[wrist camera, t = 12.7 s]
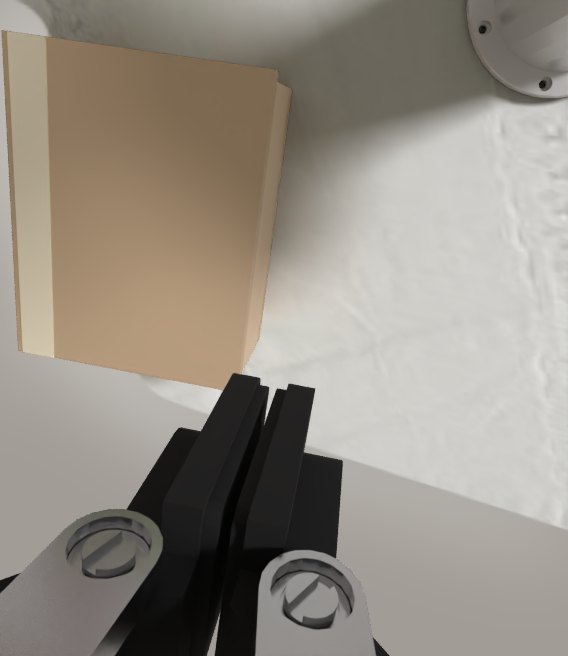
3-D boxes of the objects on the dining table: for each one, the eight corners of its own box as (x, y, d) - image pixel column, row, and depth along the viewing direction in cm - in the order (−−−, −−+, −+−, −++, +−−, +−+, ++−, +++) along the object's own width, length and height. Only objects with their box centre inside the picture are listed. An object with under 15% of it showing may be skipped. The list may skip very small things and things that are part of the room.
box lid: (12, 33, 32) (0, 30, 31) (278, 71, 31) (275, 69, 30) (26, 345, 40) (17, 351, 39) (240, 386, 39) (236, 393, 38)
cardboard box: (85, 59, 40) (21, 43, 33) (292, 89, 39) (274, 80, 31) (85, 305, 48) (33, 338, 40) (259, 338, 46) (238, 378, 39)
